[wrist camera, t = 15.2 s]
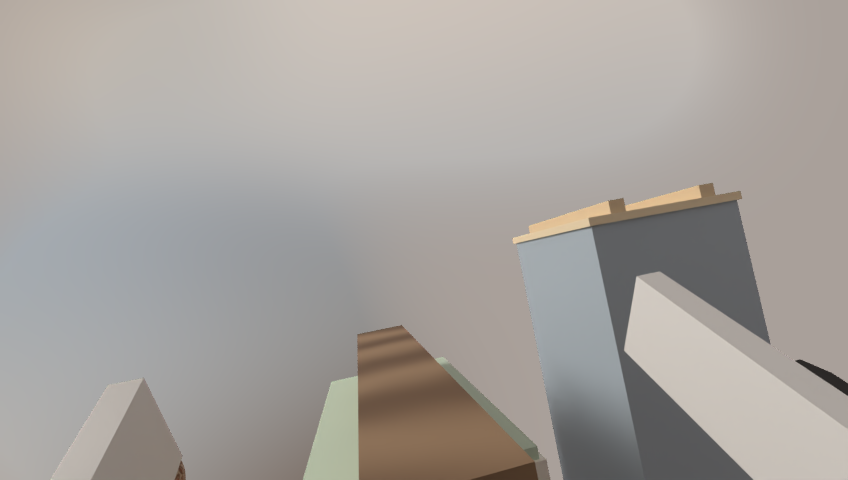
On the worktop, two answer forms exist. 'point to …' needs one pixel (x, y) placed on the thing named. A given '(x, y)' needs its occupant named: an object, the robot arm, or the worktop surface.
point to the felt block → (338, 431)
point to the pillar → (608, 322)
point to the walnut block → (425, 419)
